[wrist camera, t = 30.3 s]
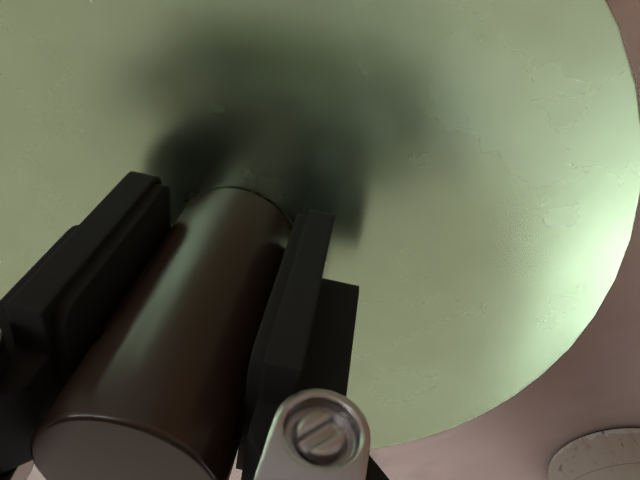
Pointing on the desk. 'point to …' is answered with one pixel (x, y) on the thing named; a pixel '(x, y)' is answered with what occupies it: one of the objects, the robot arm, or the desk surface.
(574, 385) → the desk surface
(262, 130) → the lid
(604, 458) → the thermos bottle
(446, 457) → the desk surface
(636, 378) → the desk surface
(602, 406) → the desk surface
